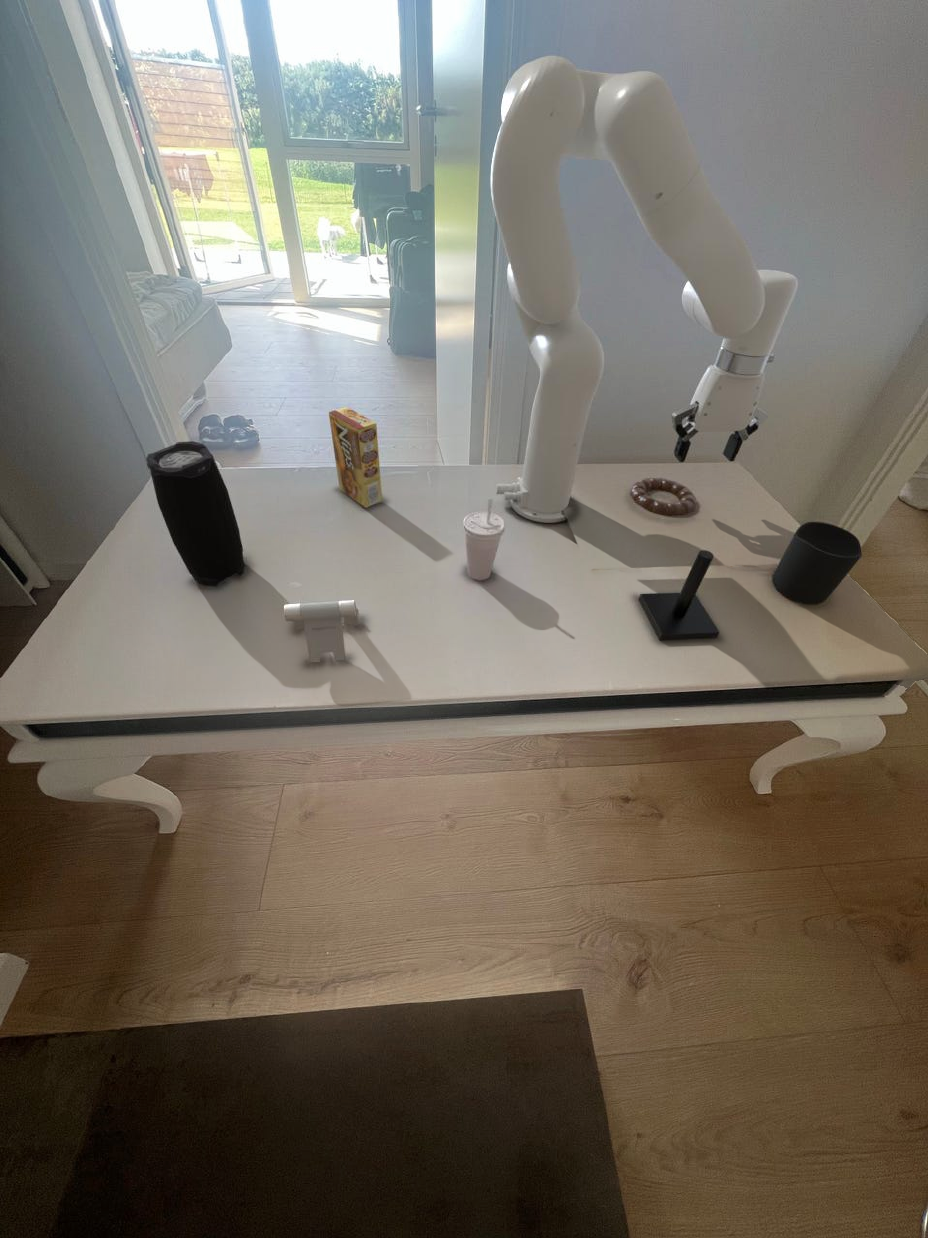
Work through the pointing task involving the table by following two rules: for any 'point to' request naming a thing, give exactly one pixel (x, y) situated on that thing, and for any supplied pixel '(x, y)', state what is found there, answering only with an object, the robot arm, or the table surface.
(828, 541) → the pen holder
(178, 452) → the portable speaker
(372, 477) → the candy box
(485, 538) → the smoothie
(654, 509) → the chocolate torus ring
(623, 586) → the table surface
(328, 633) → the tablet stand
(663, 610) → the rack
